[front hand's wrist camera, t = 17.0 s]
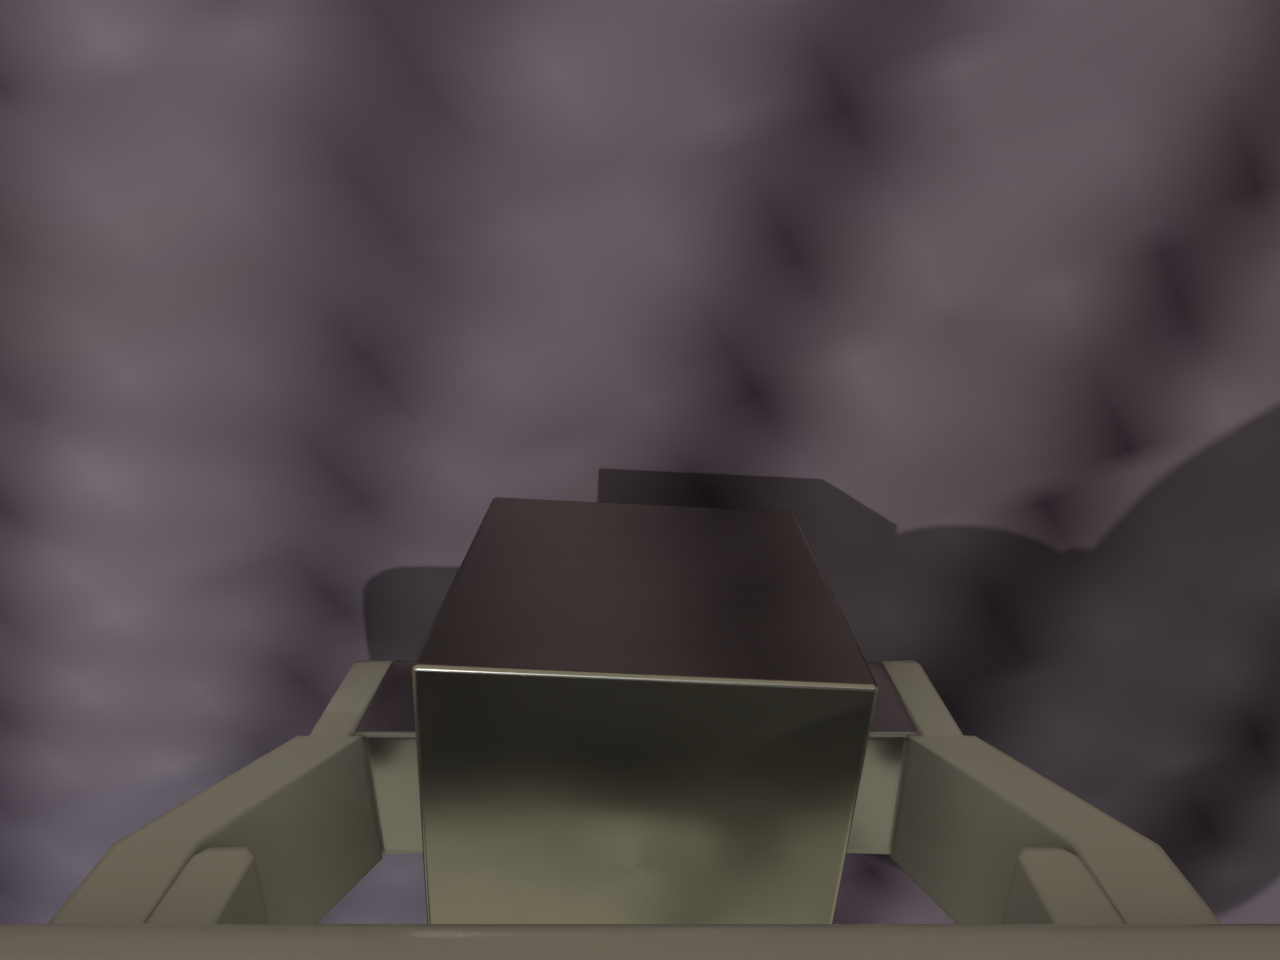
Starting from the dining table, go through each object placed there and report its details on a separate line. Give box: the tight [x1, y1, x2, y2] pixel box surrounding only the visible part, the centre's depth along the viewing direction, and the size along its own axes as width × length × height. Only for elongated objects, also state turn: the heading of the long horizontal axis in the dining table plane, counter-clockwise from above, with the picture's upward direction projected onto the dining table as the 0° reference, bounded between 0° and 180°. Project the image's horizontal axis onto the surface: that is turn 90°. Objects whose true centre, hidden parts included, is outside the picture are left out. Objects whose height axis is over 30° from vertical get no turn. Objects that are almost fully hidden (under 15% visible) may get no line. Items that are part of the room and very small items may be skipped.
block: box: [412, 497, 878, 924], centre depth 10 cm, size 5×5×4 cm
